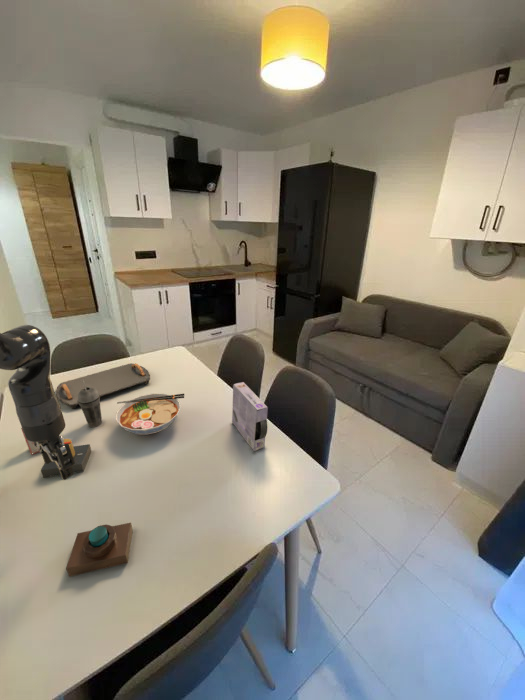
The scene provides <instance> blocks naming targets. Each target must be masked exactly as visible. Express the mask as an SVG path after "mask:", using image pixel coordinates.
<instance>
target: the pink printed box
mask: <svg viewBox="0 0 525 700" xmlns="http://www.w3.org/2000/svg"><path fill="white" fill-rule="evenodd" d="M20 430H21V432H22V434H23V438H24V440H25V444H26V446H27V448H28V451H29V453H30V455H31V456H32V455H35V454H37V453H41V452H40V451H39V450H38V448H37V447H36V446H35V445H34V442H31V441H29V440H27V439H26V437H25V435H24V432H23V429H22V427H21V428H20ZM32 453H33V454H32Z"/></svg>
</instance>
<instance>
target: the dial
mask: <svg viewBox="0 0 525 700" xmlns="http://www.w3.org/2000/svg"><path fill="white" fill-rule="evenodd" d="M63 440H64V444H66V443H67V444H69V447H70V450H71V453H72V456H73V457H74V456H75V451H74V447H73V446H74V444H73V441H72V439H70V438H63ZM56 456H57V455H56Z"/></svg>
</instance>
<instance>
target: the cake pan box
mask: <svg viewBox="0 0 525 700" xmlns="http://www.w3.org/2000/svg"><path fill="white" fill-rule="evenodd" d="M231 408H232V411H231V412H232V413H231V423H232V424H233V425H234V427H235V428H236V430H238V432H239V435H241V437H242V438H243V440H244V441H246V443H247V444H248V445H249V447H250V448H251V450H253V452H256V451H259V450H261V449H263V448H265V447H266V446H265V445H266V436H267V434H268V420H267V419H268V413H269V411H268V410H269V407H268V406H267V405H266V404H265V403H264V401H262V399H260V398H259V396H258V395H256V393H255V392H254V391H253V390H252V389H251V388H250V387H249V386H248V385H247V384H246V383H245V382H244V381H242V382H237V383H234V384H233V385H232V407H231Z"/></svg>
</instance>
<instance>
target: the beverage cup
mask: <svg viewBox="0 0 525 700" xmlns="http://www.w3.org/2000/svg"><path fill="white" fill-rule="evenodd" d="M82 383H83V386H84V389H82V390H81V391H80V392H79V394H78V397H77V399H78V400H77V401H78V403H79V404H78V405H79V406H80V409H81V410H82V413H83V415H84V418H85V420H86V423H87V425H88V427H89V428H96V427H99V426H100V425H102V423H103V419H102V417H103V416H102V409H101V403H100V402H101V397H100V395H99V393H98V391H97V390H96V389H94V388H91V387H87V388H86V387H85V384H84V381H83V379H82Z"/></svg>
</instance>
